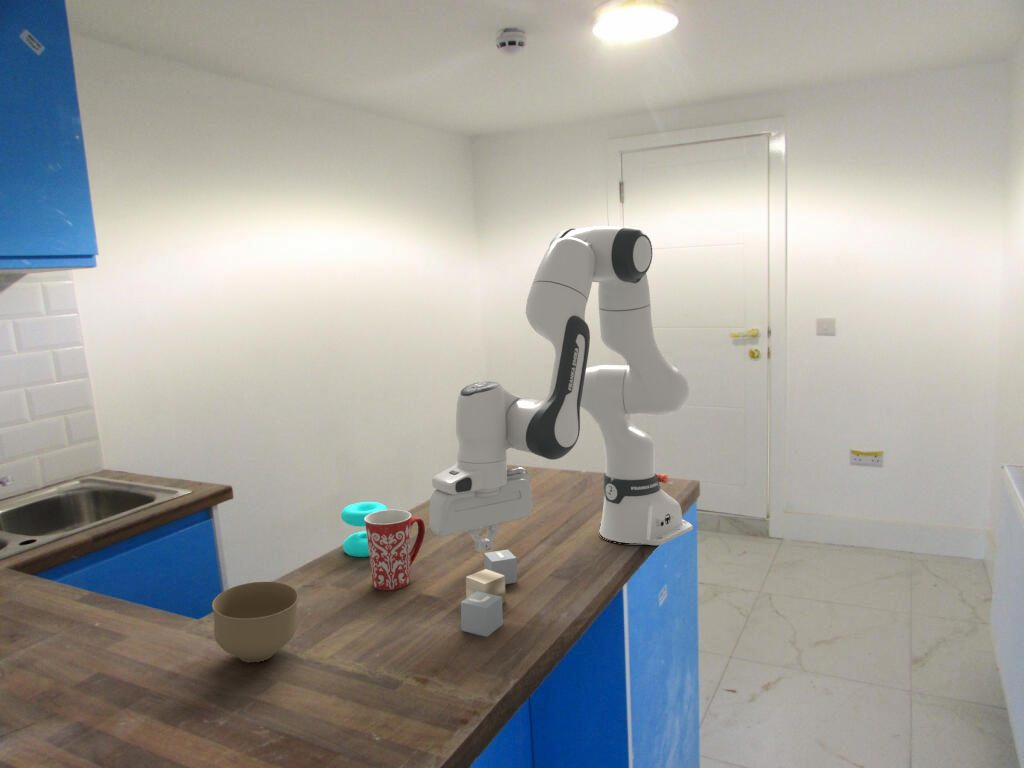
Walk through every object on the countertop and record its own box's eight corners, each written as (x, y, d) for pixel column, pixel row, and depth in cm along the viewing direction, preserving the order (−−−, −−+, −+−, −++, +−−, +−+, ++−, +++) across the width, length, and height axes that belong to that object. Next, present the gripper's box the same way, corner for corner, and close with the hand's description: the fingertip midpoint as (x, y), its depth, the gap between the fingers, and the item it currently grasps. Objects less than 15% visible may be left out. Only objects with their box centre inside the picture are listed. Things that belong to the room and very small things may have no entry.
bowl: (253, 686, 104) (248, 621, 103) (198, 664, 111) (193, 602, 110) (318, 649, 115) (315, 589, 114) (265, 631, 122) (261, 574, 120)
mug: (382, 596, 134) (379, 526, 133) (359, 583, 141) (355, 516, 140) (438, 578, 143) (436, 512, 141) (413, 566, 149) (410, 502, 148)
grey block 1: (477, 619, 125) (476, 590, 124) (502, 625, 122) (502, 596, 121) (461, 630, 120) (460, 601, 120) (487, 637, 118) (486, 607, 117)
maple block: (486, 594, 135) (485, 568, 134) (505, 602, 131) (504, 575, 130) (466, 603, 131) (465, 576, 130) (485, 611, 128) (484, 584, 127)
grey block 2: (508, 573, 145) (507, 549, 144) (517, 582, 140) (516, 557, 139) (484, 577, 143) (483, 552, 142) (492, 586, 138) (492, 561, 138)
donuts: (395, 502, 161) (371, 515, 152) (397, 545, 162) (373, 561, 153) (357, 498, 165) (331, 511, 155) (360, 541, 166) (333, 555, 157)
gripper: (519, 462, 136) (520, 534, 138) (423, 479, 125) (425, 557, 126) (539, 468, 131) (540, 542, 133) (441, 486, 120) (444, 567, 121)
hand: (483, 549), depth 129 cm, fingers closed
